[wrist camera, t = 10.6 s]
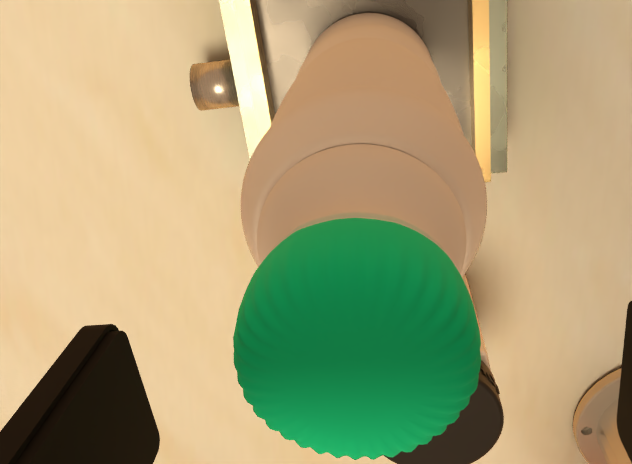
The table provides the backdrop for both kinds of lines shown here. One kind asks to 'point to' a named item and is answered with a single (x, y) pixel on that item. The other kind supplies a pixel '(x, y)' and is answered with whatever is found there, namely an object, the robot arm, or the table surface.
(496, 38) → the gearbox
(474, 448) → the jar
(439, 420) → the water bottle
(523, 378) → the table surface
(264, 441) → the table surface
